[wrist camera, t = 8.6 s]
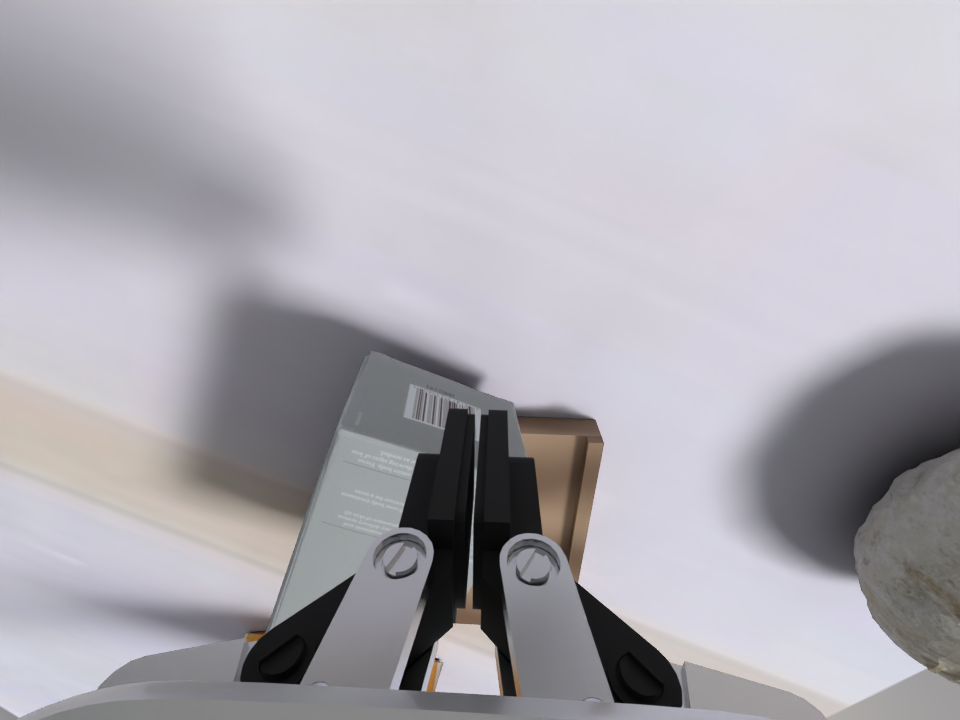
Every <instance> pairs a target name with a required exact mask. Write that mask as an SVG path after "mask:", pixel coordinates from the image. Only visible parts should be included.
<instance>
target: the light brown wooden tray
mask: <svg viewBox="0 0 960 720" xmlns="http://www.w3.org/2000/svg"><path fill="white" fill-rule="evenodd" d="M517 420H518V424H519V428H520V432H521V436H522V440H523V444H524V448H525V451H526V455H527V457H532V458H534V461H535V469H536V479H537V488H538V497H539V506H540V515H541V524H542V533H543V536H546V537H548V538H549V539H551V540H553V541H554V542H556V544H557V545H558V546H559V547H560V548H561V549H562V550H563V552H564V554H565V556H566V558H567V561H568V564H569V567H570V570H571V573H572V576H573V579H574V581H576V582H577V583H578V580H579V574H580V569H581V564H582V558H583V553H584V548H585V542H586V537H587V532H588V526H589V521H590V515H591V510H592V505H593V499H594V494H595V489H596V483H597V478H598V473H599V467H600V462H601V457H602V451H603V446H604V442H603V439H602V437H601V434H600V431H599V429H598V426H597V423H596V420H588V419H563V418H537V417H517ZM456 623H459V624H478V625H481V610H479V609H473V585H472V587H471V588H470V590H469V591H468V593H467V596H466V608H465V609H459V608H458V609H457V614H456Z"/></svg>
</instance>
